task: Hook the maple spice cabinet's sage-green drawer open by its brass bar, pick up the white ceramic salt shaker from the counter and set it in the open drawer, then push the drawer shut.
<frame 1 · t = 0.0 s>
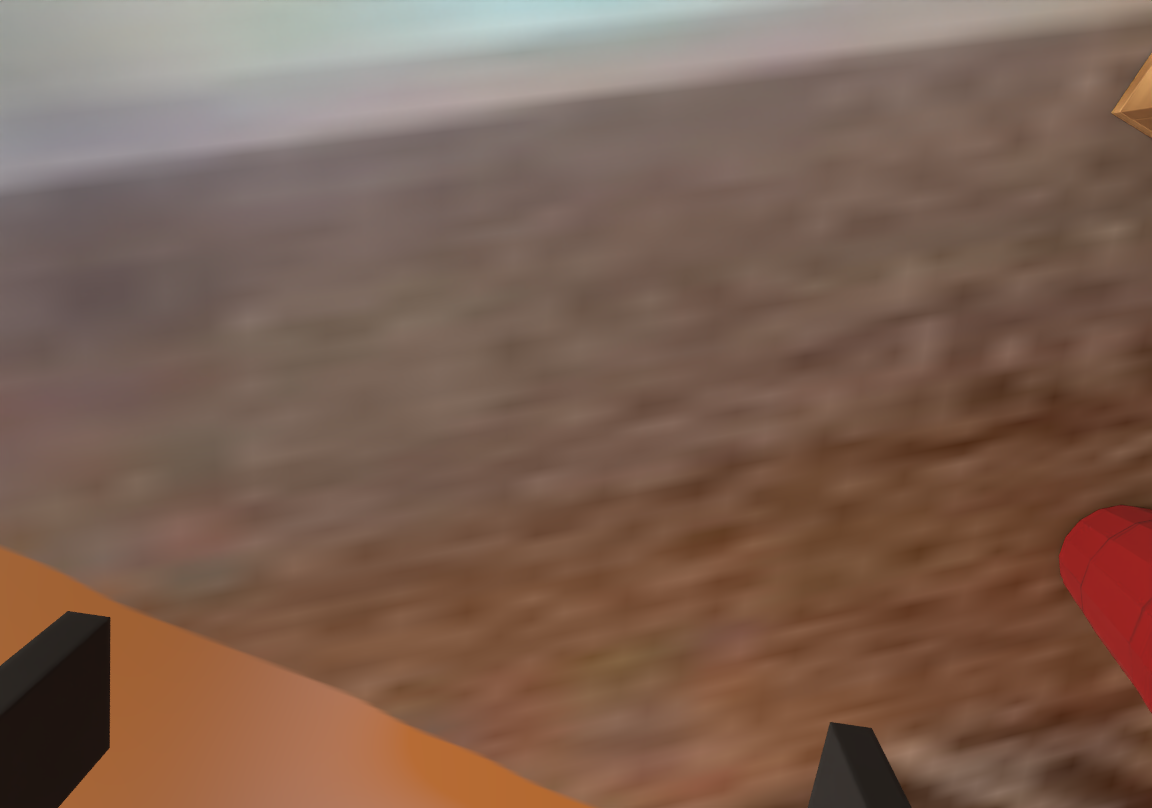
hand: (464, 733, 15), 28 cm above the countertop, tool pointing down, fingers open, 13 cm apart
plastic cup: (1115, 555, 44), on the countertop
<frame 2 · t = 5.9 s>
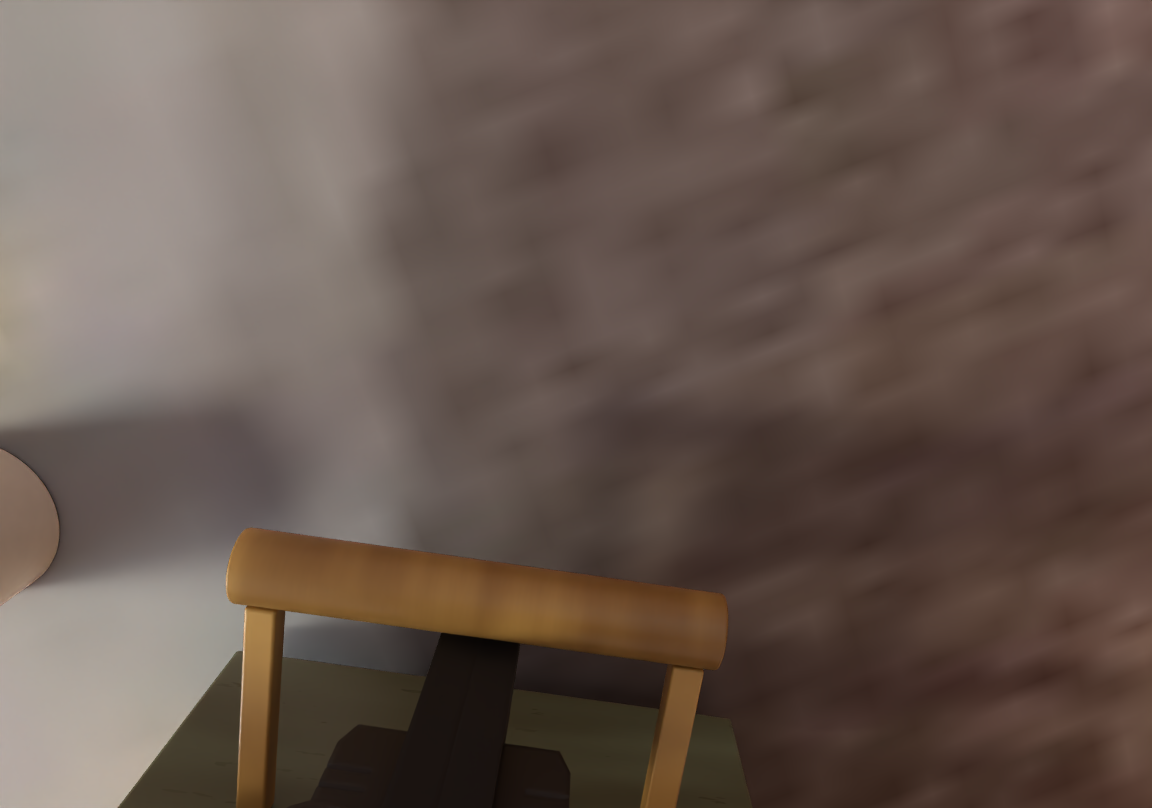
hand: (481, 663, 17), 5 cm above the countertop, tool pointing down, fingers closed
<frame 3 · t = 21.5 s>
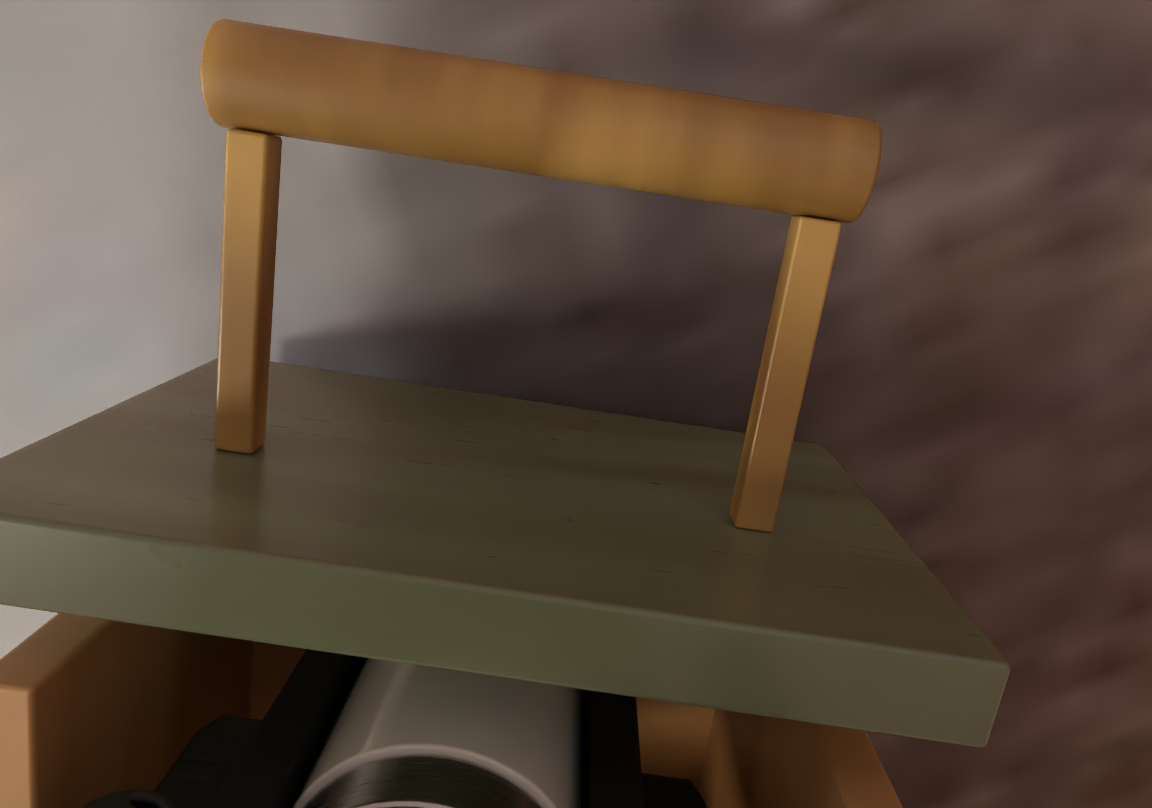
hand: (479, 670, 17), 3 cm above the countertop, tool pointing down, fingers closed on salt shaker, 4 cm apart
salt shaker: (482, 657, 18), point 3 cm above the countertop, touching gripper
drawer: (481, 630, 15), point 5 cm above the countertop, slide at 8.5 cm
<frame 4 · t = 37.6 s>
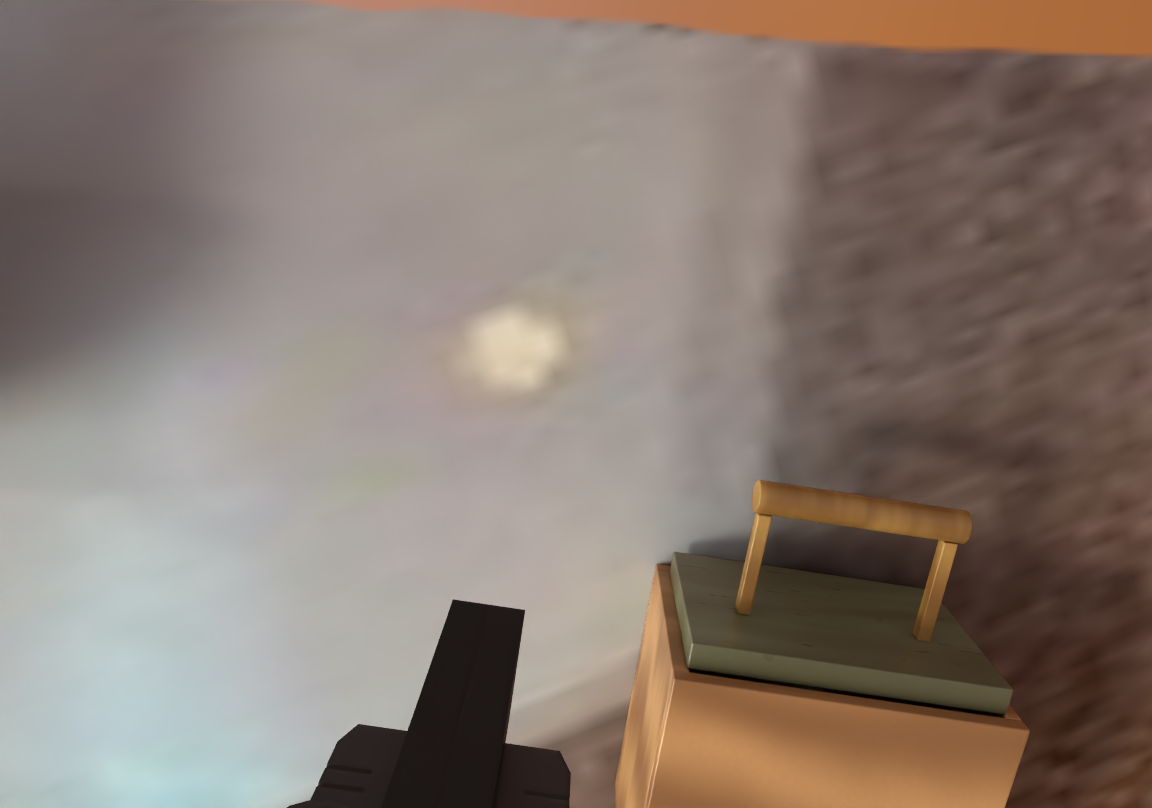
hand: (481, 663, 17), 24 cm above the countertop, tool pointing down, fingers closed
salt shaker: (784, 670, 43), point 2 cm above the countertop, touching drawer
drawer: (810, 673, 39), point 5 cm above the countertop, slide at 0.0 cm, touching salt shaker
cabinet: (767, 696, 45), on the countertop
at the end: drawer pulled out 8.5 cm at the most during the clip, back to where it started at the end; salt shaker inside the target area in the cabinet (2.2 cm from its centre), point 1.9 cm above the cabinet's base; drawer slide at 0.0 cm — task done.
